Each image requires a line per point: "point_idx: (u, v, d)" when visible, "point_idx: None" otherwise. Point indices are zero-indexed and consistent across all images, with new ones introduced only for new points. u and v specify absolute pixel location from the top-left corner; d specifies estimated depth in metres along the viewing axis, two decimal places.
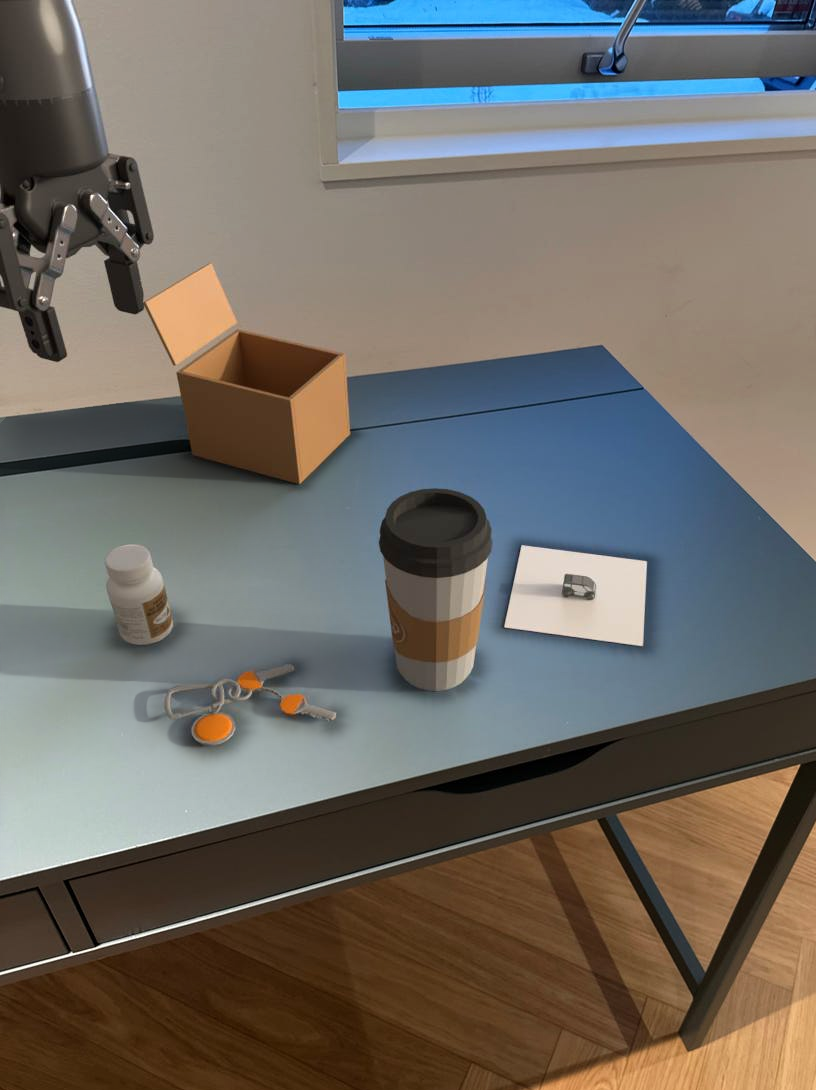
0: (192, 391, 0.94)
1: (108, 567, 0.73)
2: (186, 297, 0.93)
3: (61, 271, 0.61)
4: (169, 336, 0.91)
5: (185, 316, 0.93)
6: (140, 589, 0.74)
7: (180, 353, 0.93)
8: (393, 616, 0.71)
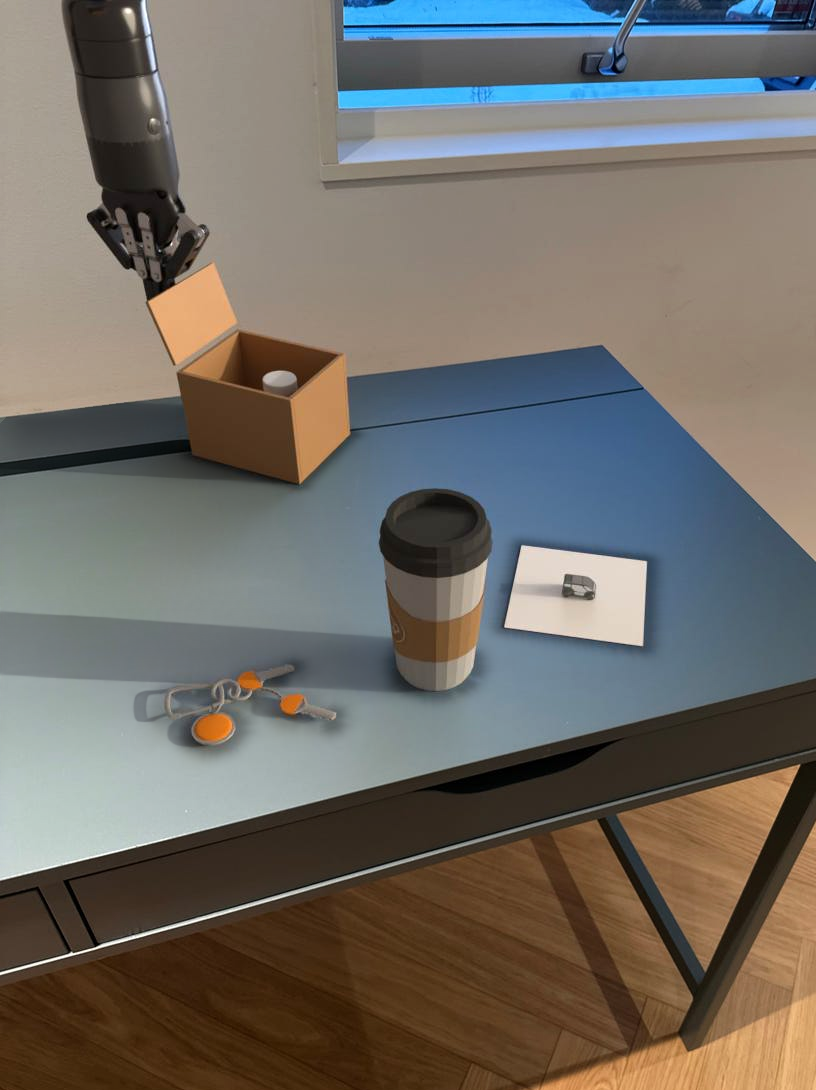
0: (192, 391, 0.94)
1: (266, 384, 0.94)
2: (188, 297, 0.93)
3: (136, 252, 0.90)
4: (170, 336, 0.91)
5: (186, 316, 0.93)
6: None
7: (180, 353, 0.93)
8: (393, 616, 0.71)
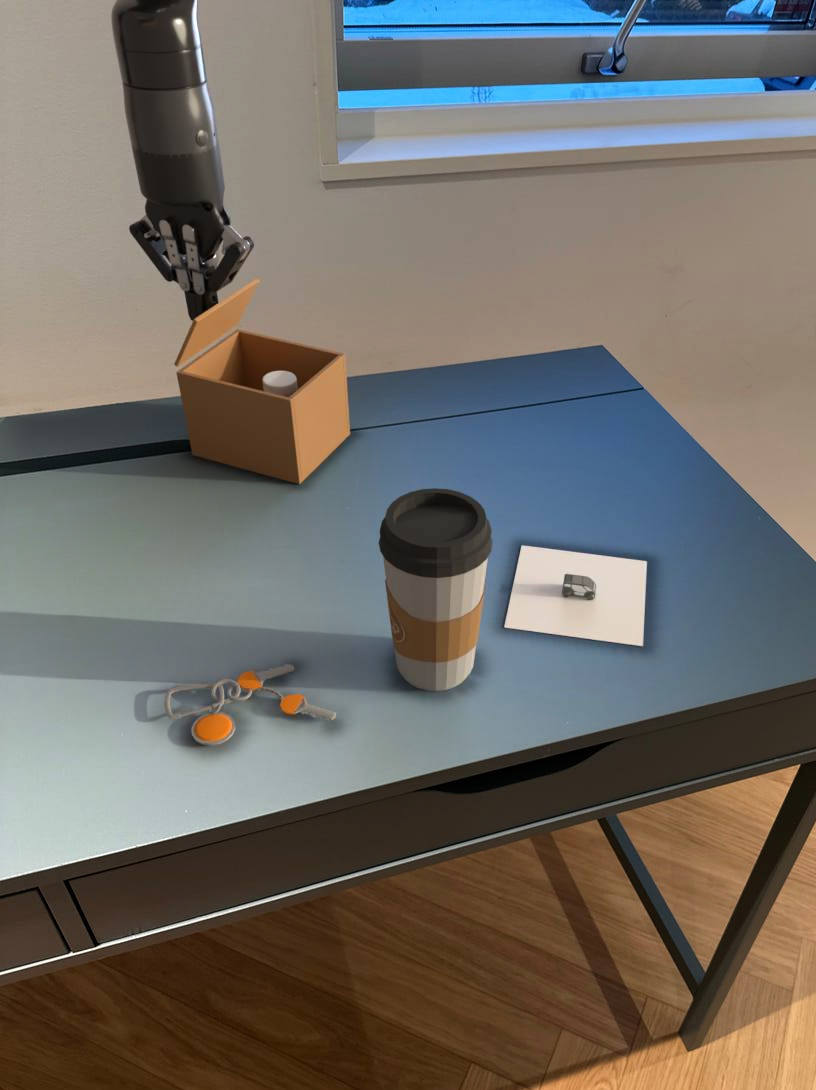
0: (192, 391, 0.94)
1: (266, 384, 0.94)
2: (223, 312, 0.93)
3: (179, 265, 0.89)
4: (190, 345, 0.91)
5: (211, 327, 0.93)
6: None
7: (186, 357, 0.93)
8: (393, 616, 0.71)
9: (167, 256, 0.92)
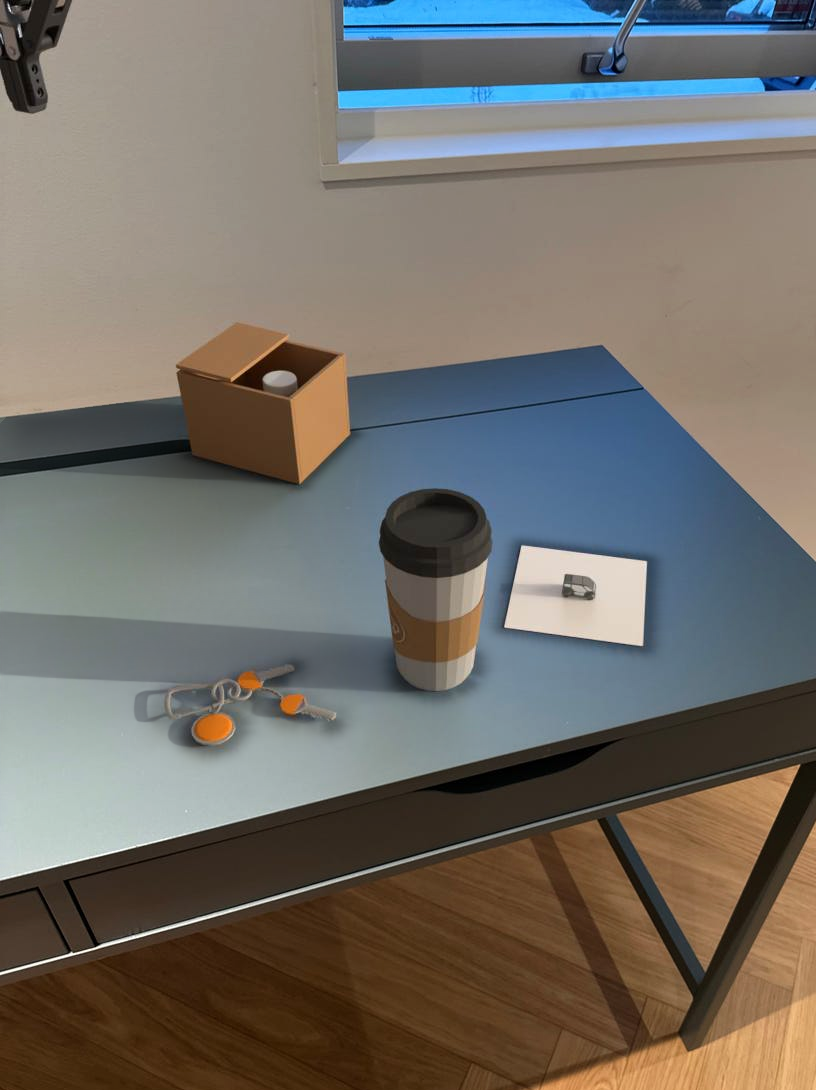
0: (192, 391, 0.94)
1: (266, 384, 0.94)
2: None
3: None
4: None
5: None
6: None
7: None
8: (393, 616, 0.71)
9: None
